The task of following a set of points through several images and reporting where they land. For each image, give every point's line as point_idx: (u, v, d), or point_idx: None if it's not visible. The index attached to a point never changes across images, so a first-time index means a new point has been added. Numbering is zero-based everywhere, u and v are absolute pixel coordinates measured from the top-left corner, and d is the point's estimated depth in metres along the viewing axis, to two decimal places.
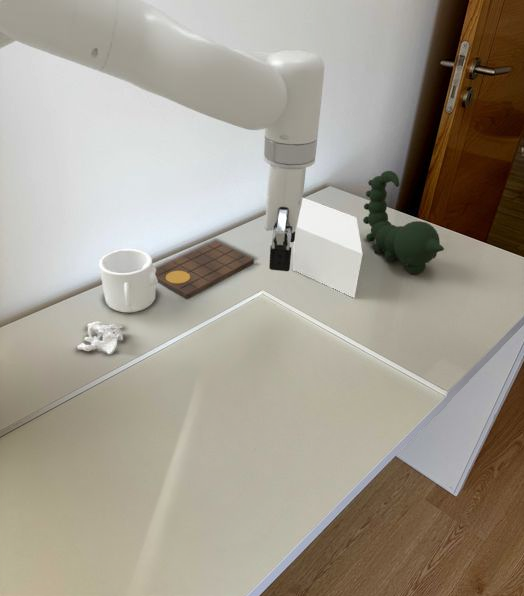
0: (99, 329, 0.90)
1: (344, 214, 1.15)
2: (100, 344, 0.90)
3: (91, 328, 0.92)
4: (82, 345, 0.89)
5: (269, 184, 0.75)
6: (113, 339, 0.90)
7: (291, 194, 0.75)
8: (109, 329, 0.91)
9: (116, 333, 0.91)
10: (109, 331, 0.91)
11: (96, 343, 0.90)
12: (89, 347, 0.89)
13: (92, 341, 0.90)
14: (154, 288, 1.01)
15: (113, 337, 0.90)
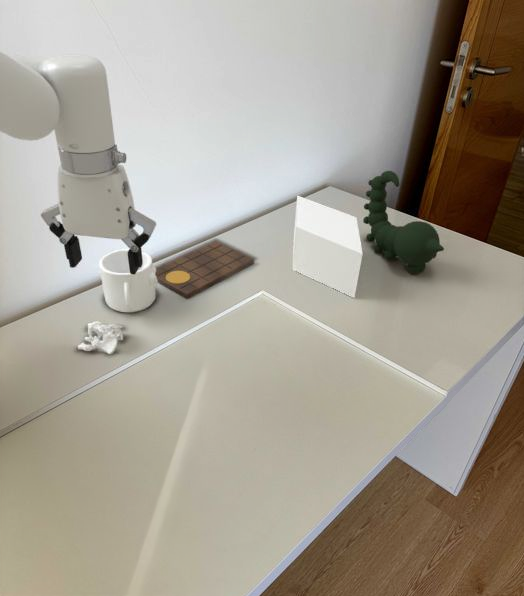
0: (99, 329, 0.90)
1: (344, 214, 1.15)
2: (100, 344, 0.90)
3: (91, 327, 0.92)
4: (83, 345, 0.89)
5: None
6: (113, 339, 0.90)
7: None
8: (109, 329, 0.91)
9: (116, 333, 0.91)
10: (109, 331, 0.91)
11: (96, 343, 0.90)
12: (89, 347, 0.89)
13: (92, 341, 0.90)
14: (154, 288, 1.01)
15: (113, 337, 0.90)
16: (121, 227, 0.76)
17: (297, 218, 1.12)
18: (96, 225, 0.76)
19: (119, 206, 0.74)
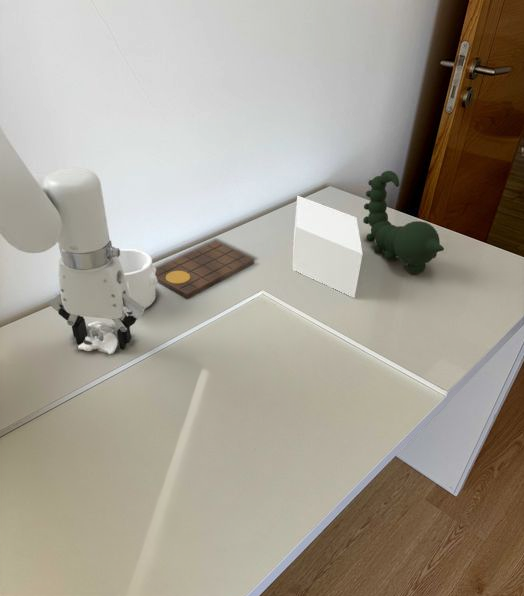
0: (100, 329, 0.90)
1: (344, 214, 1.15)
2: (101, 344, 0.90)
3: (92, 327, 0.92)
4: (83, 345, 0.89)
5: None
6: (114, 339, 0.90)
7: None
8: (110, 329, 0.91)
9: None
10: (110, 331, 0.91)
11: (97, 343, 0.90)
12: (90, 347, 0.89)
13: (93, 341, 0.90)
14: (154, 288, 1.01)
15: (114, 337, 0.90)
16: (116, 310, 0.85)
17: (297, 218, 1.12)
18: (94, 308, 0.85)
19: (114, 293, 0.83)
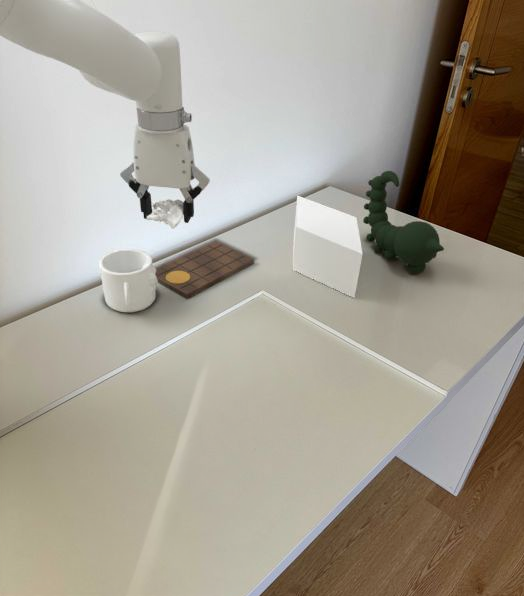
0: (166, 202, 0.97)
1: (344, 214, 1.15)
2: (167, 216, 0.97)
3: (157, 203, 0.99)
4: (151, 215, 0.95)
5: None
6: (179, 211, 0.97)
7: None
8: (175, 203, 0.97)
9: (181, 207, 0.98)
10: (175, 205, 0.97)
11: (163, 215, 0.96)
12: (158, 217, 0.95)
13: (159, 213, 0.97)
14: (154, 288, 1.01)
15: (179, 209, 0.96)
16: (185, 177, 0.92)
17: (297, 218, 1.12)
18: (164, 176, 0.92)
19: (184, 159, 0.90)
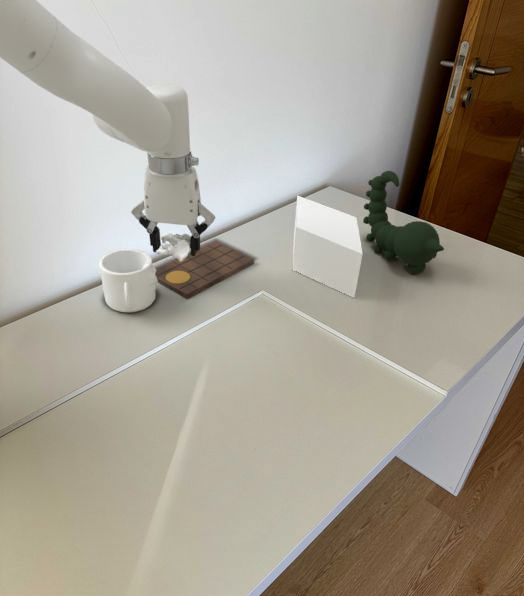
0: (174, 237, 1.03)
1: (344, 214, 1.15)
2: (175, 250, 1.03)
3: (165, 237, 1.05)
4: (160, 249, 1.02)
5: None
6: (186, 245, 1.03)
7: None
8: (182, 237, 1.04)
9: (188, 241, 1.04)
10: (182, 239, 1.04)
11: (172, 249, 1.03)
12: (166, 251, 1.01)
13: (168, 247, 1.03)
14: (154, 288, 1.01)
15: (186, 243, 1.03)
16: (192, 215, 0.98)
17: (297, 218, 1.12)
18: (172, 214, 0.98)
19: (192, 199, 0.96)
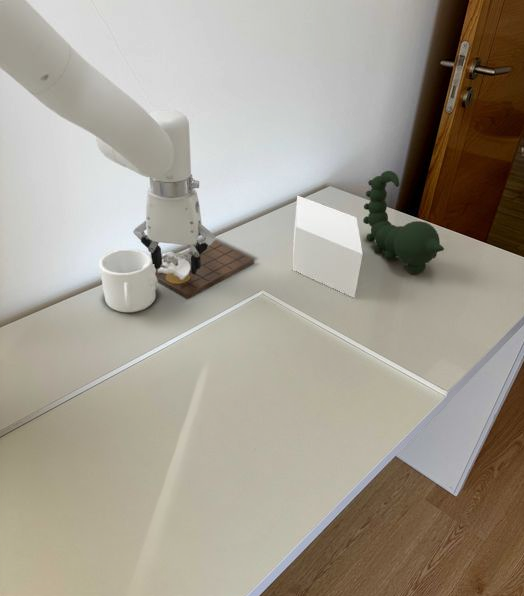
0: (175, 256, 1.06)
1: (344, 214, 1.15)
2: (176, 268, 1.05)
3: (166, 256, 1.08)
4: (162, 268, 1.04)
5: None
6: (187, 264, 1.05)
7: None
8: (183, 256, 1.06)
9: (189, 260, 1.06)
10: (183, 258, 1.06)
11: (173, 267, 1.05)
12: (168, 270, 1.04)
13: (169, 266, 1.05)
14: (154, 288, 1.01)
15: (187, 262, 1.05)
16: (193, 236, 1.00)
17: (297, 218, 1.12)
18: (174, 234, 1.00)
19: (193, 220, 0.98)
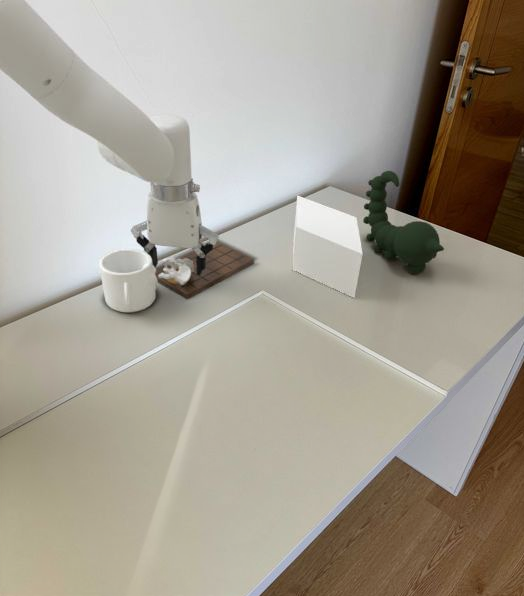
0: (175, 261, 1.06)
1: (344, 214, 1.15)
2: (176, 274, 1.06)
3: (167, 261, 1.09)
4: (162, 274, 1.05)
5: None
6: (188, 270, 1.06)
7: None
8: (184, 262, 1.07)
9: (189, 265, 1.07)
10: (184, 263, 1.07)
11: (173, 273, 1.06)
12: (168, 275, 1.05)
13: (170, 271, 1.06)
14: (154, 288, 1.01)
15: (188, 268, 1.06)
16: (193, 239, 1.01)
17: (297, 218, 1.12)
18: (174, 238, 1.01)
19: (193, 224, 0.99)
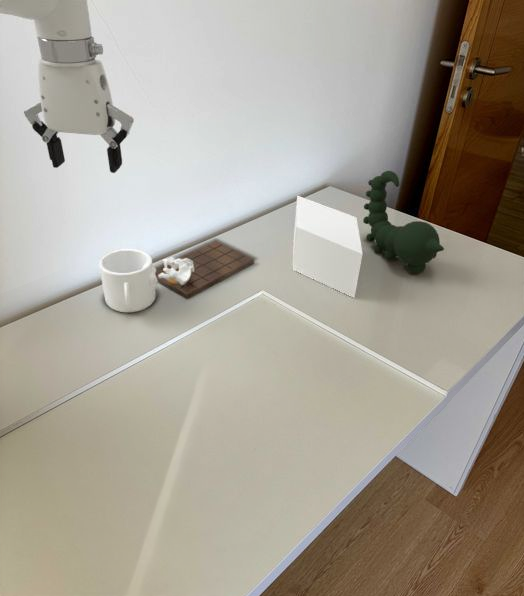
0: (175, 261, 1.06)
1: (344, 214, 1.15)
2: (176, 274, 1.06)
3: (167, 261, 1.09)
4: (162, 274, 1.05)
5: None
6: (188, 270, 1.06)
7: None
8: (184, 262, 1.07)
9: (189, 265, 1.07)
10: (184, 263, 1.07)
11: (173, 273, 1.06)
12: (168, 275, 1.05)
13: (170, 271, 1.06)
14: (154, 288, 1.01)
15: (188, 268, 1.06)
16: (100, 121, 0.80)
17: (297, 218, 1.12)
18: (76, 119, 0.81)
19: (97, 98, 0.78)
